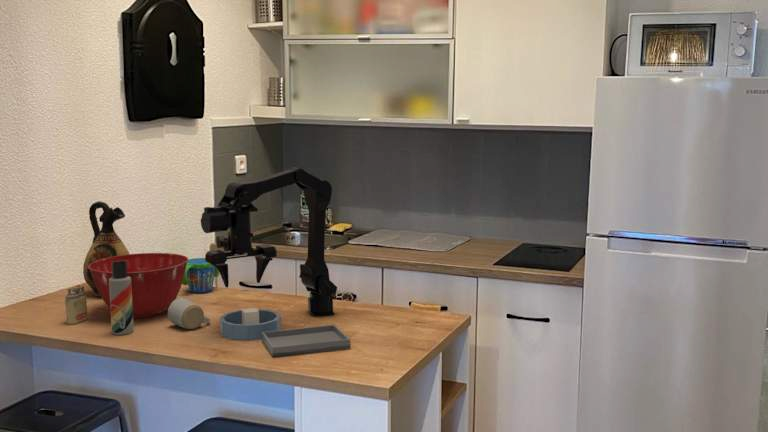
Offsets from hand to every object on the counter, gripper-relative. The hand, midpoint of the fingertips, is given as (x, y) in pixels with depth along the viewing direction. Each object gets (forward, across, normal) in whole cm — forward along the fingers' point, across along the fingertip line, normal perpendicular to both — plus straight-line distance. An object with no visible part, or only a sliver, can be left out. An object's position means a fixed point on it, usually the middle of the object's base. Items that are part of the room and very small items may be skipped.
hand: (242, 284), depth 221 cm
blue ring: (+12, 0, +3) cm, 13 cm away
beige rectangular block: (+12, 0, +3) cm, 13 cm away
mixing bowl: (+12, +19, -33) cm, 40 cm away
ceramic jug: (+12, +22, -61) cm, 66 cm away
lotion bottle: (+12, +29, -15) cm, 35 cm away
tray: (+12, -8, +22) cm, 27 cm away
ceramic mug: (+13, +12, -11) cm, 20 cm away
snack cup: (+13, -5, -48) cm, 50 cm away
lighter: (+12, +37, -33) cm, 51 cm away
